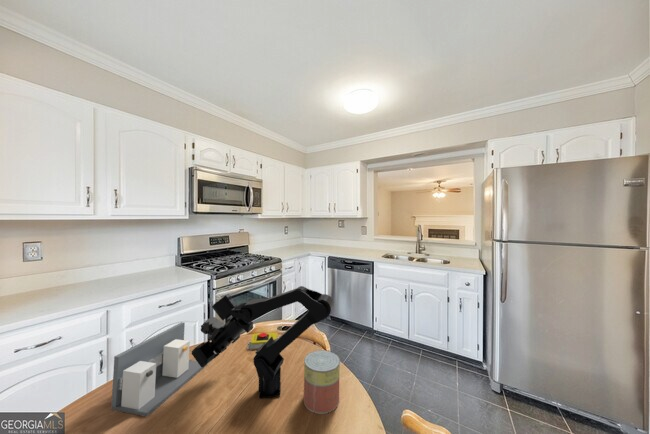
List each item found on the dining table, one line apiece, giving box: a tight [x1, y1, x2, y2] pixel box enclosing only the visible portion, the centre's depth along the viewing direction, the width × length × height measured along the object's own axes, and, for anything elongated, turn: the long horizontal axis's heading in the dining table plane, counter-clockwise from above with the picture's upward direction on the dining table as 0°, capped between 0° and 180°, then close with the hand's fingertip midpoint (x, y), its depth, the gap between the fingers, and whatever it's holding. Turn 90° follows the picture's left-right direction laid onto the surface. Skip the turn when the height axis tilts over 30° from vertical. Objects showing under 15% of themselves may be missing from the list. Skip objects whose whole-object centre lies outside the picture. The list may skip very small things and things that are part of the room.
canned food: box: [303, 349, 341, 415], centre depth 71 cm, size 11×11×12 cm
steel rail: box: [118, 353, 163, 390], centre depth 77 cm, size 1×23×3 cm, turn 170°
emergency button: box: [246, 331, 278, 350], centre depth 105 cm, size 9×4×15 cm
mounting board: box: [110, 321, 208, 418], centre depth 77 cm, size 12×24×15 cm, turn 170°
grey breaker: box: [121, 361, 156, 410], centre depth 68 cm, size 7×5×10 cm
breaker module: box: [162, 339, 191, 378], centre depth 81 cm, size 7×5×10 cm
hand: (202, 359), depth 79 cm, fingers closed
